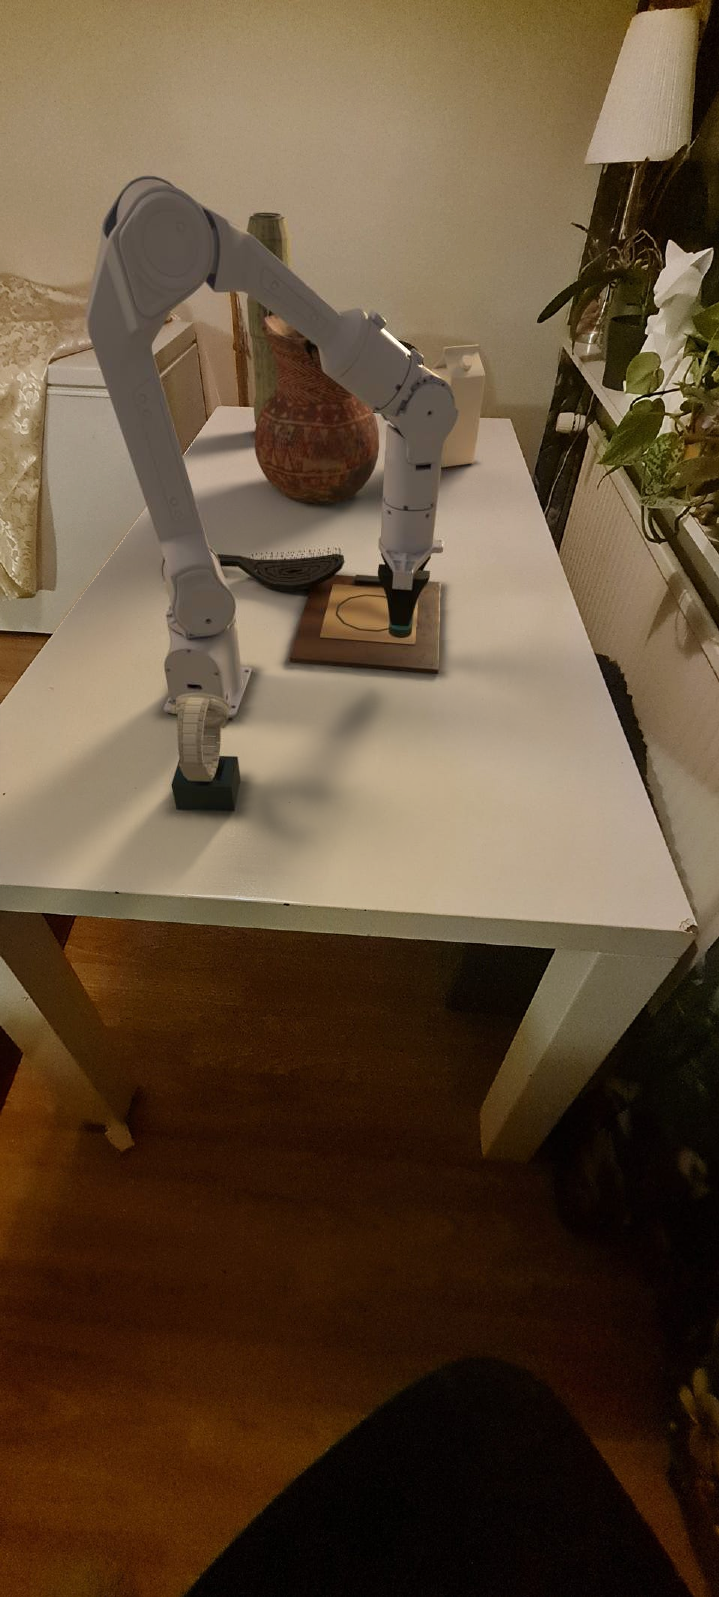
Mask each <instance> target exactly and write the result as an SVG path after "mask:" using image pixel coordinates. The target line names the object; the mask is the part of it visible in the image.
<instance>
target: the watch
mask: <svg viewBox="0 0 719 1597" xmlns="http://www.w3.org/2000/svg"><path fill="white" fill-rule="evenodd" d="M229 711H230V704H229V703H228V702H227V701H226V700H224V699H223V698H220V697H218V696H215V695H211V694H205V693H187V694H183V695H180V696H179V697H177V699H176V705H172V706H171V713H170V714H172V715H173V714H174V715H176V716H177V721H176V722H177V723H176V724H177V726H176V730H177V733H176V734H177V749H178V750H177V751H178V761H177V766H176V768H175V771H174V775H173V778H172V781H171V790H172V796H173V800H174V805H175V809H176V810H196V811H197V810H198V811H227V812H235V809H236V804H237V799H238V795H239V789H240V786H241V772H240V764H239V756H237V755H233V756H232V755H220V754H221V746H222V743H221V742H222V729H225V727H226V723H227V722H228V719H229V718H228V717H229Z"/></svg>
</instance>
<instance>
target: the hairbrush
mask: <svg viewBox="0 0 719 1597" xmlns="http://www.w3.org/2000/svg"><path fill="white" fill-rule="evenodd" d="M334 549H335V553H334V552H332V551H331V550H330V547H327V554H325V555H324V552H325V551H326V549H323V551H324V552H322V553H321V552H320V551H321V549H320V548H319V549H318V552H317V555H316V554H315V552H316V550H315V549H314V550H313V552H311V551H312V550H311V549H309V550H308V555H306V557H305V556H304V553H305V550H303V553H302V550H299V553H301V555H300V557H299V554H298V553H297V554H296V556H294V554H295V551H293V554H291V557H290V556H289V554H290V553H289V551H287V554H286V557H284V554H283V552H280V554H281V555H280V558H278V556H279V552H277V554H276V555H275V558H274V555H273V552H270V554H271V555H269V558H270V559H268V558H267V556H262V557H260V559H254V558H252V557H254V554H253V553H252V554H251V556H248V557H247V556H243V555H240V554H239V555H237V554H225V553H223V554H222V553H216V554H217V556H218V558H219V561H220V564H221V567H226V568H227V567H228V568H229V567H231V568H233V567H234V568H235V567H237V568H239V569H241V571H243V572H244V573H245V574H247V575H248V576H250V577H251V578H253V579H254V580H255V581H256V582H258V583H259V584H261V585H262V586H265V587H268V588H271V589H274V590H275V591H276V590H277V591H289V592H294V591H299V590H305V589H306V590H307V589H310V588H311V587H313V586H315V585H318V584H320V583H322V582H324V581H326V580H328V579H330V578H331V577H333V576H334V575H337V573H339V572H340V571H341V570H342V569H343V566H344V564H345V562H346V560H345V557H344V554H342V553H341V552H342V550H341V548H340V547H338V548H337V547H335V548H334ZM337 550H338V551H339V553H337ZM330 553H331V554H330ZM266 554H268V551H266ZM255 555H256V556H257V555H258V553H257V552H256V553H255ZM260 555H263V552H261V553H260ZM293 556H294V557H293ZM287 557H288V558H287ZM292 557H293V558H292Z"/></svg>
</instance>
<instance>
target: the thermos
mask: <svg viewBox="0 0 719 1597" xmlns="http://www.w3.org/2000/svg"><path fill="white" fill-rule="evenodd" d="M246 231H247V232H249V233H250V234H251V235H253V236H254V237H255V238H256V239H257V240H258V241H260V242H261V243H262V244H263V245H264V246H265V247H266V248H267V249H268V250H269V251H271V252H272V253H273V254H274V255H275V256H276V257H277V258H278V259H279V260H281V261H282V262H283V263H284V264H285V265H286V266H287V267H288V268H289V269H290V270H292V253H291V252H292V250H291V234H290V230H289V228H288V224H287V219H286V217H284V216H282V214H280V213H277V212H254V213H253V215H250V216H249V218H248V223H247V229H246ZM246 307H247V324H248V333H249V336H250V338H251V344H252V345H251V346H252V360H253V375H254V376H253V377H254V388H255V389H254V391H255V398H254V401H253V416H254V423H255V424H256V423H257V420H258V416H259V414H260V411H261V409H262V407H263V405H264V404H265V402H266V401H267V400H268V398H269V397H270V396H271V395H272V394H273V393H274V391H275V389H276V387H277V370H276V363H275V360H274V356H273V353H272V349H271V347H270V344H269V342H268V341H267V339H266V336H265V334H264V332H263V331H262V329H261V327H260V321H261V320H262V319H263V318H265V317H267V316H271V315H275V314H274V313H272V312H271V311H270V310H268V309H267V308H266V307H264V306H263V305H262V304H260V303H259V302H258V301H256V300H255V299H254V298H252V297H251V296H250V295H248V294H247V298H246Z"/></svg>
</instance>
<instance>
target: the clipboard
mask: <svg viewBox="0 0 719 1597" xmlns="http://www.w3.org/2000/svg"><path fill="white" fill-rule="evenodd" d="M305 601H306V602H305V604H304V608H303V611H302V613H301V614H302V615H301V618H300V620H299V624H298V628H297V632H296V634H295V637H294V640H293V645H292V648H291V651H290V655H289V658H288V660H289V662H290V663H299V664H311V665H312V664H314V665H325V666H337V667H350V668H363V669H377V670H388V671H399V672H400V671H401V672H414V673H416V672H417V673H425V674H439V660H440V658H439V657H440V656H439V655H440V625H441V624H440V622H441V621H440V620H441V619H440V618H441V617H440V616H441V582H440V581H428V583H427V584H426V586H425V587H424V588H423V590H422V591H421V593H420V595H419V597H418V600H417V602H416V605H415V609H414V616H413V625H412V634H411V635H410V636H409V637H406V638H397V637H393V636H392V635H390V634H389V631H388V630H389V611H388V604H387V598H386V594H385V591H384V588H383V586H382V584H381V583H380V581H379V578H378V575H366V574H365V575H364V574H355V575H346V574H345V575H344V574H335V575H334V576H333V577H331V578H330V579H328V580H326V581H324V582H322V583H320V584H318V585H315V586H313V587H311V588H309V592H308V594H307V598H306V600H305Z"/></svg>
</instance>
